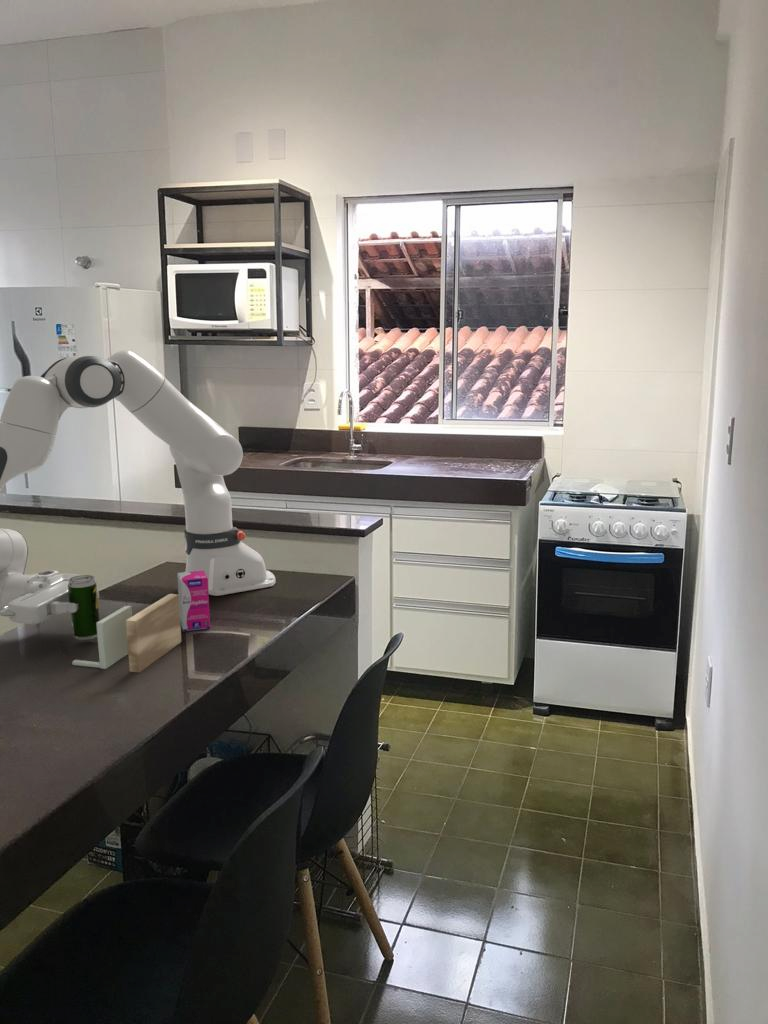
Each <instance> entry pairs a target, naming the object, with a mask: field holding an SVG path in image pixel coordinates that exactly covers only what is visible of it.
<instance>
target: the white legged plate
mask: <svg viewBox="0 0 768 1024" xmlns="http://www.w3.org/2000/svg"><path fill="white" fill-rule="evenodd" d="M132 616H133V610H132V605H124V606H123V607H121V608H119V609H117V610H115V611H114V612H113V613H110V614H109V615H107V616H106V617H104V618H102V619H100V621H98V622H97V623H96V625H97V637H96V638H97V644H98V645H97V646H98V647H97V648H98V657H99V661H89V660H81V659H74V660H72V662H71V664H72V666H80V667H90V668H99V669H101V670H106V669H108V668H109V667H111V666H112V665H114V664H115V663H117V662H118V661H120V660H121V659H123V658H124V657H126V656H127V655H128V642H127V629H126V620H127V619H129V618H130V617H132Z"/></svg>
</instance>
